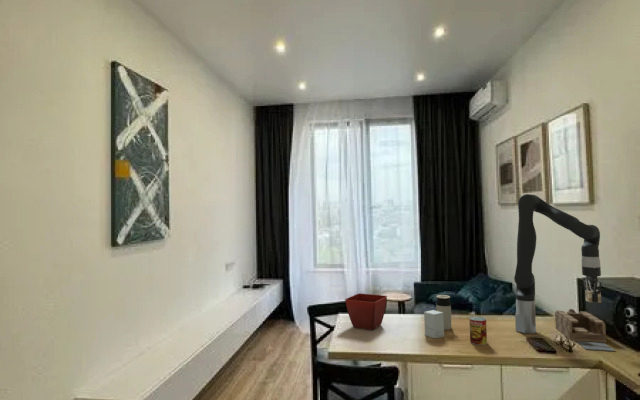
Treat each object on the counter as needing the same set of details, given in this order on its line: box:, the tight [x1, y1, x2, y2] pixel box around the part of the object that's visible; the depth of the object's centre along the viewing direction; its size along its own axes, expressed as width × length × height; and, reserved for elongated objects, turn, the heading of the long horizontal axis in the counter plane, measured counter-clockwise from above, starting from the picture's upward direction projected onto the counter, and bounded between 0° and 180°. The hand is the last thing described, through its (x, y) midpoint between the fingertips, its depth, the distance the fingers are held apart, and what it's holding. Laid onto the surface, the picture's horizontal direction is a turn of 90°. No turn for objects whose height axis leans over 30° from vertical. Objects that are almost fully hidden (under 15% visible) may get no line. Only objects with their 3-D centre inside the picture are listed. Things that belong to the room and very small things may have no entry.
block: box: [584, 289, 602, 304], centre depth 187 cm, size 4×5×5 cm
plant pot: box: [344, 293, 388, 331], centre depth 226 cm, size 19×19×17 cm
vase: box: [566, 308, 577, 313], centre depth 222 cm, size 7×7×9 cm
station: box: [554, 310, 616, 353], centre depth 197 cm, size 34×16×10 cm, turn 166°
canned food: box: [468, 315, 488, 346], centre depth 195 cm, size 8×8×12 cm
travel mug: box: [435, 294, 452, 331], centre depth 220 cm, size 8×8×18 cm
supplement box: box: [423, 309, 445, 339], centre depth 207 cm, size 7×7×13 cm
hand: (593, 301), depth 187 cm, fingers closed on block, 4 cm apart
